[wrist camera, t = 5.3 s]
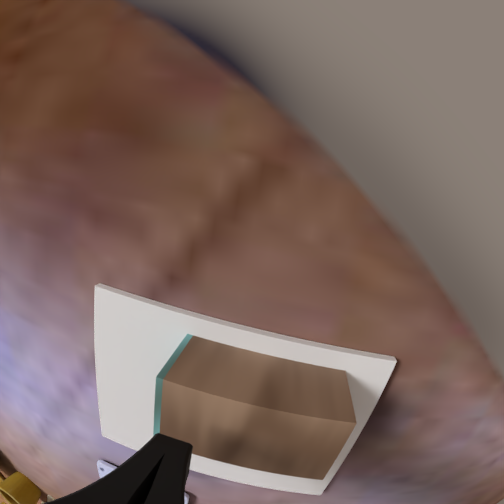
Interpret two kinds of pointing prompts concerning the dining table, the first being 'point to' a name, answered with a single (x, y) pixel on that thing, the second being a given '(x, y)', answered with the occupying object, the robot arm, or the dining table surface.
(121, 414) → the white mat
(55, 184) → the dining table surface
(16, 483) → the tableware set
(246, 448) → the walnut block
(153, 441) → the robot arm
